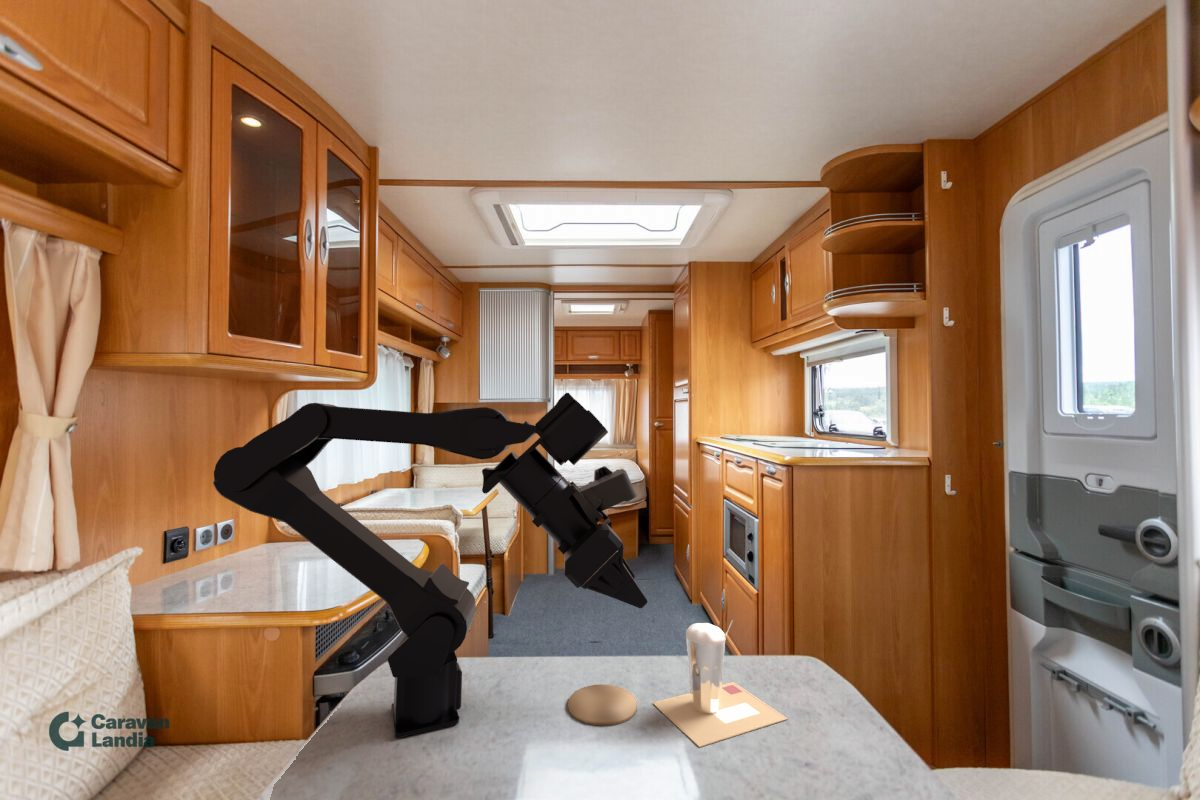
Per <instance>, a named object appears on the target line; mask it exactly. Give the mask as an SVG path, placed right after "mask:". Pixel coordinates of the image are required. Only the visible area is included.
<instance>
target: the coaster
mask: <svg viewBox="0 0 1200 800" xmlns="http://www.w3.org/2000/svg"><path fill="white" fill-rule="evenodd" d="M567 703H568V704H567V706H568V711H569V712H570V714H571V715H572V716H573V717H574V718H575V719H577V720H578V721H580V722H582V723H585V724H589V725H593V726H600V727H601V726H604V727H605V726H616V725H619V724H622V723H625V722H627V721H629V720H631V719H632V718H633V717H634V716H635V715H636V713H637V711H638V700H637V697H636V696H635V695H634V694H633V693H632V692H631V691H630V690H628V689H625V688H624V687H620V686H617V685H613V684H602V683H601V684H591V685H587V686H583V687H581V688H579V689H577V690H575V691H574V692H573V693H571V695H570V696H569V698H568V702H567Z"/></svg>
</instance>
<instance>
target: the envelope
mask: <svg viewBox="0 0 1200 800" xmlns="http://www.w3.org/2000/svg"><path fill="white" fill-rule="evenodd" d="M652 704H653V705H654V706H655V707H656V709H658V710H659V711H660V712H661V713H662V714H663V715H664V716H665V717H666V718H667V719H668V720H669V721H671V722H672V724H673V725H675V727H677V728H678V729H679V730H680V731H681V732H682V733H683V734H684V735H685V736H687V737H688V739H690V741H691V742H693V743H694V744H695V745H696V746H697V747H698V748H702V747H705V746H709V745H711V744H714V743H715V744H716V743H718V742H722V741H724V740H727V739H730V738H734V737H737V736H740V735H744V734H747V733H750V732H753V731H755V730H759V729H762V728H765V727H768V726H772V725H775V724H777V723H781V722H784V721H788V718H787V717H786V716H785V715H783V714H782V713H780V712H779V711H777V710H775V708H773V707H771V706H770V705H768V704H767V703H765V702H764V701H763V700H761V699H759V698H758V697H756V696H755V695H754V694H752V693H750V692H749V691H748V690H746V689H745V688H744V687H742V686H740V685H739V684H738V683H736V682H734V681H731V682H727V683H722V691H721V705H720V709H719V710H718V712H716V713H712V714H706V713H701V712H699V711H697V710H695V709H694V708H693V706H692V705H691V694H690V692H689V693H684V694H681V695H677V696H673V697H672V696H671V697H669V698H664V699H661V700H657V701H654V702H652Z"/></svg>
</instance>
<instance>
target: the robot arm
mask: <svg viewBox="0 0 1200 800" xmlns="http://www.w3.org/2000/svg"><path fill="white" fill-rule="evenodd" d="M608 433H609V431H608V430H607V428H606V427H605V425H603V424H602V422H601V421H600V420H599V419H598V418H597V417H596V415H595V414H593V413H592V411H591V410H590V409H588V410H587V409H586V408H585V407H584V406H583V405H582V404H580V402H578V400H576V399H575V398H574V397H573V396H572V395H571V394H570V393H569V392H565V393H564V394H563V395H562V396H561V397H560V398H559V399H558V400H557V401H556V403H555V405H554V406H553V407H552V408H551V409H549V411H548V412H547V413H545V414H544V415H543V416H542V417H541V418H540V419H539V420H538V421H537V422H536V423H535V424H531V423H530V422H529V421H526V420H525V421H524V423H522V422H517V421H516V422H515V421H512V420H511V419H510V418H509V417H508V415H507V414H505V413H504V412H502V411H501V410H499V409H495V408H490V407H485V406H484V407H483V406H482V407H481V406H479V407H472V408H471V407H470V408H461V409H451V410H445V411H437V412H415V411H402V410H401V411H399V410H388V409H372V408H362V407H361V408H360V407H359V408H358V407H348V406H347V407H344V406H337V405H334V404H329V403H320V402H311V403H310V402H309V403H307V404H305V405H303V406H301V407H300V408H298V409H297V410H296V411H294V412H293V413H292V414H291V415H290V416H288V418H286V419H284V420H282V421H281V422H279V423H278V424H276V425H274V426H272V427H271V428H268V429H266V430H265V431H263V432H261V433H259V434H257V435H256V436H254V437H253V438H251V440H249V441H248V442H247V443H246V444H244V445H243V446H237V447H234V448H232V449H229V450H227V451H226V452H224V453H223V454H222V455H221V456H220V457H219V459H218V461H216V463H215V467H214V470H213V482H212V484H213V487H214V488H215V491H216V492H217V493H218V494H219V496H221V497H222V498H224V499H226V500H229V501H230V502H232V503H234V504H235V505H238V506H240V507H241V508H243V509H245V510H247V511H250V512H251V513H255V514H258V515H261V516H264V517H269V518H271V519H274V520H278V521H281V522H282V523H285V524H286V525H288V526H289V527H291V529H292V530H293V531H295V532H297V534H298V535H301V537H303V539H305V540H307V541H308V542H309V543H311V545H313V546H314V547H315V548H317V549H318V550H320V552H322V553H323V554H324V555H325V556H327V557H328V558H329V559H331V560H332V561H333V562H335V563H336V564H337V565H338V566H340V567H341V568H342V569H343V570H345V571H346V572H347V573H348V574H350V575H351V576H352V577H354V578H356V580H358V581H359V582H360V583H361V584H362V585H364V586H365V587H367V588H368V589H369V590H370V591H372V593H374V594H376V595H377V597H379V598H381V600H383V601H384V602H385V603H386V605H387V606H388V607H389V609H390V611H391V613H392V615H393V617H394V619H395V621H396V623H397V625H398V628H399V629H400V630H401V632H402V633H403V634H404V636H403V637H402V638H401V640H400V641H399V642H398V644H397V645H396V646H395V648H394V649H393V651H392V652H391V653H390V654H389V655H388V657H387V663H388V666H389V669H390V672H391V674H392V677H393V678H394V682H393V683H394V689H393V703H392V704H391V718H392V727H393V736H394V738H398V739H399V738H403V737H408V736H411V735H412V736H413V735H417V734H420V733H425V732H429V731H435V730H437V729H441V728H447V727H450V726H451V727H452V726H454V725H458V724H459V723H460V715H459V713H458V710H461V707H462V693H463V692H462V690H463V689H462V686H463V671H462V668H461V666H460V663H459V662H458V657H457V655H456V651H457V649H459V648H460V647H461V645H462V644H463V642H464V641H465V639H466V637H467V635H468V633H469V631H470V628H471V626H472V623H473V622H474V619H475V617H476V612H477V604H476V598H475V596H474V594H473V592H471V591H470V590H469V588H468V586H469V585H470V582H469V581H466V580H462V579H461V578H459V577H457V576H456V575H455V574H454V573H453V572H452V570H450V568H449V567H448V566H446V565H445V564H444V563H441V564H440V565H438V567H437V568H436V569H435V570H434V571H433V572H432V571H430V570H426V569H423V568H420V567H418V566H416V565H414V563H412V562H410V560H408V559H407V558H406V557H404V556H403V555H402V554H401V553H399V551H397V550H395V548H393V547H392V546H390V545H389V544H388V543H387V542H385V541H384V540H383V539H382V538H380V537H379V536H378V535H377V534H375V533H374V532H373V531H371V530H370V529H369V528H368V527H366V526H365V525H364V524H362V522H360V521H359V520H358V519H356V518H355V517H354V516H353V515H351V514H350V513H349V512H347V510H345V509H344V508H343V507H341V506H340V505H338V504H337V503H336V502H335V501H334V500H332V499H331V498H329V496H327V495H326V494H325V493H324V492H322V490H321V489H320V487H319V485H318V482H317V480H316V479H315V477H314V474H313V472H312V470H311V469H310V468H309V467H308V465H309V464H310V463H312V462H313V461H315V459H316V458H317V457H318V456H319V455H320V453H322V451H323V450H324V449H325V448H326V446H327V445H328V444H329V443H330V442H332V441H333V440H334V439H335V440H346V441H347V440H349V441H350V440H351V441H363V442H376V443H377V442H378V443H390V444H391V443H393V444H406V445H407V444H408V445H421V446H422V445H425V446H427V447H431V448H436V449H439V450H441V451H445V452H448V453H453V454H456V455H461V456H463V457H468V458H472V459H476V460H489V459H492V458H494V457H497V456H499V455H502V454H503V453H505V452H506V451H507V450H508V449H509V447H510V446H513V445H517V444H523V443H526V442H529V441H530V440H532V438H533V437H534V436H535V435H536V434H537V435H538V436H539V438H537V440H536V441H534V443H532V445H530V446H529V447H528V448H527V449H526V450H524V452H523V453H522V454H521V455H520V456H519V455H517V454H516V453H515V452H514V451H511V452H510V453H508V454H507V455H506V456H505V457H504V458H503V459H502V460H501V461H500V462H499V463H497V465H496V466H494V467H493V468H492V467H485V468H483V469H482V470H481V473H482V477H483V479H482V480H483V483H482V488H481V491H482V493H483V494H485V495H486V494H488V493H490V491H492V490H493V489H494V488H495V487H496V486H497V485H498V484H499V485H501V486H502V487H503V488H504V490H506V491H507V492H508V493H509V494H510V496H512V498H513V499H514V500H515V501H516V502H517V503H518V504H519V505H520V506H521V507H522V508H523V509H524V510H525V511H526V512H527V513H528V515H530V517H531V518H532V519H531V522H532V523H533V524H534V526H536V527H537V528H539V527H540V528H542V529H543V530H544V531H545V532H546V533H547V534H548V536H550V537H551V538H552V540H553V541H554V542H556V544H557V546H556V547H557V550H559V552H560V553H561V554H563V555H564V563H563V564H564V565H563V566H564V576H565V577H566V578H567V579H568V580H569V581H570V582H571V583H572V584H573V585H574V587H575V588H576V589H579V588H580V589H581V588H582V589H583V590H590V591H593V592H595V593H598V594H602V595H603V596H607V597H610V598H613V599H615V600H617V601H620V602H623V603H626V604H628V605H630V606H633V607H635V608H638V609H643V608H644V607H645V606H646V605H647V604H648V598H647V597H646V596H645V594H644V593H643V591H642V589H641V587H639V584H638V583H637V582H636V580H635V578H636V576H635V574H634V572H633V571H632V569H631V567H630V566H629V564H628V562H627V561H626V559H625V557H624V551H625V546H624V543H623V541H622V539H621V538H620V537H619V535H618V534H617V533H616V532H615V531H614V529H613V528H612V527H613V526H612V525H613V524H612V523H613V522H612V521H611V519H610V518H609V515H608V513H606V510H607V509H611V508H612V507H614V506H616V505H619V504H622V503H623V502H626V503H627V502H630V501H632V500H634V499H635V498H636V497H637V496H638V495H637V493H636V491H635V489H634V486H633V483H632V482H631V481H632V480H630V477H629V475H628V472H627V470H625V469H624V468H620V469H615V470H614V471H612V470H610V469H609V468H608V467H607V466H605V465H603V466H602V467H598V468H596V469H594V475H593V481H589V482H588V483H587V484H585V485H583V486H580V487H579V486H578V485H577V483H575V482H574V481H573V480H572V481H571V482H570V480H567V479H566V478H565V476H563V475H562V474H561V473H560V472H559V470H558V469H557V468H556V467H555V466H554V465H553V464H552V463H551V462H550V461H549V459H547V458H546V457H545V456H544V455H543V454H542V453H541V451H540V450H538V449H537V447H538V446H539V445H540V446H541V447H542V449H544V450H545V452H546V453H548V455H549V456H550V457H551V458H552V459H553V460H554V461H555V462H556V463H557V464H559V466H563V465H564V464H566V463H567V462H568V461H569V462H570V463H571V464H572V465H573V466H575V465H576V464H577V463H578V462H579V461H580V460H582V458H584V457H585V456H586V454H588V452H590V451H591V450H592V449H593V448H594V447H595V445H597V444H598V443H599V442H600V441H601V440H602V439H603V438H605V436H606V435H607V434H608ZM601 520H604V521H603V522H602V523H599V522H600V521H601Z"/></svg>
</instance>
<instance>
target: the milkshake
mask: <svg viewBox="0 0 1200 800" xmlns="http://www.w3.org/2000/svg"><path fill="white" fill-rule="evenodd" d="M733 622H734V620H733V619H731V621H730V623H729V626H728V627H727V628H728V629H727V630H726V633H725V632H724V631H723V630H722V629H721V628H720V627H719V626H717V625H714V624H712V623H709V622H697V623H696V622H695V623H692V624H691V625H690V626H689V627H688V628H687V629H686V632H685V640H686V649H687V660H688V661H687V663H688V664H687V665H688V675H689V689H690V690H689V691H690V692H689V693H690V694H691V705H692V706H693V708H694V709H695V710H697V711H699V712H701V713H706V714H712V713H716V712H718V710H719V709H720V705H721V691H722V685H723V675H724V673H723V671H724V659H725V649H726V639H727V635H728V633H729V631H730V628H731V626H732V624H733Z"/></svg>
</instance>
